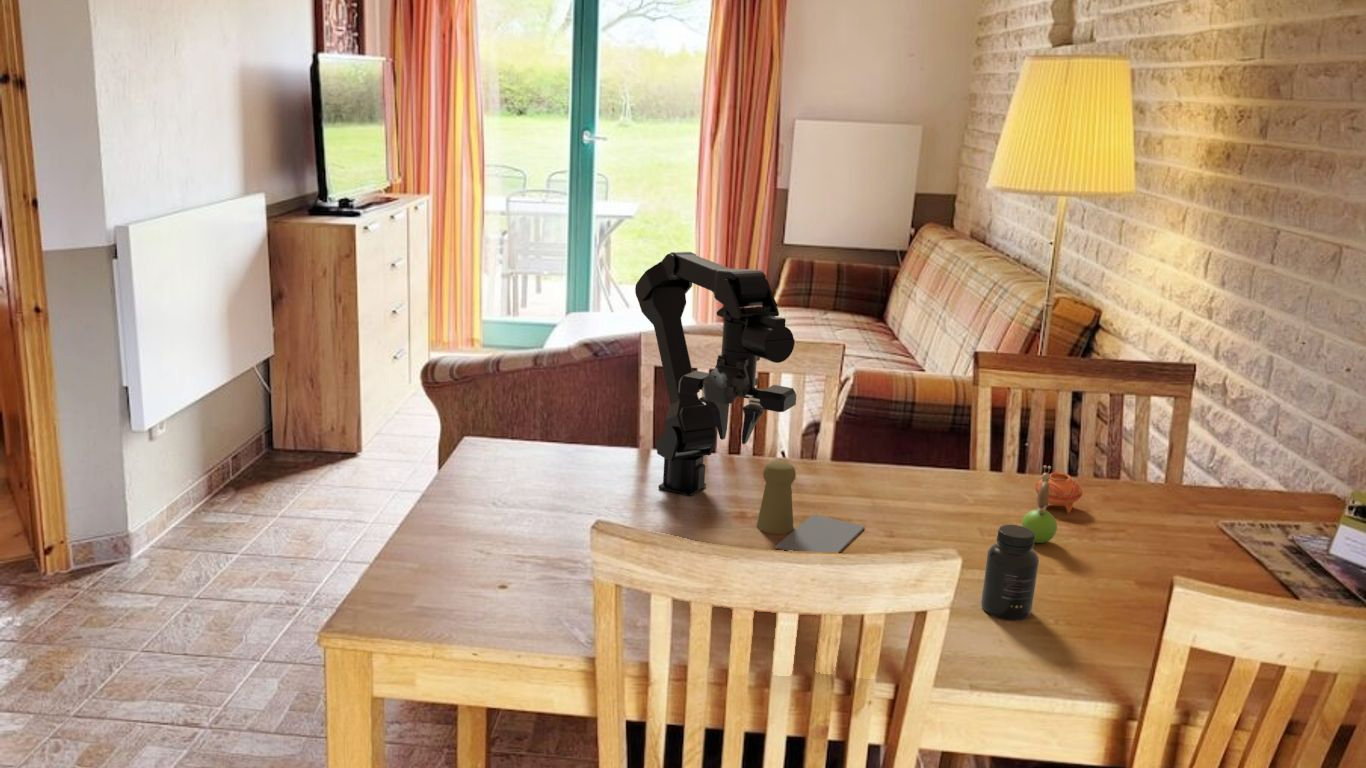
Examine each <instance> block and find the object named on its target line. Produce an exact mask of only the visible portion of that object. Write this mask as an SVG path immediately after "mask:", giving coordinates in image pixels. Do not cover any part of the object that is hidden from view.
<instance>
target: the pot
mask: <svg viewBox="0 0 1366 768" xmlns="http://www.w3.org/2000/svg"><path fill="white" fill-rule="evenodd" d="M1049 475H1050V479H1049V499H1048V504H1050V505H1052V506H1058V507H1059V506H1060V507H1065V510H1066V514H1070V513H1071V511H1072V508H1073V505H1074V503H1076V502H1077V501H1078V500H1079V499H1080V498H1082V496H1083V490H1082V488H1081V486H1080V484H1079V483H1078V482H1076V481H1077V480H1074V479H1073V478H1072V476H1071V475H1070V474H1067V473H1065V472H1058V471H1057V472H1051V473H1049ZM1041 483H1042V478H1041V479H1040V480H1039V481H1038V482H1037V483H1036V484H1035V487H1034V489H1035V491H1036V493H1037V494H1038V491H1039V487H1040V486H1041Z"/></svg>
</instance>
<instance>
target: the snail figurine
mask: <svg viewBox="0 0 1366 768" xmlns="http://www.w3.org/2000/svg"><path fill="white" fill-rule="evenodd" d="M1047 469H1048V470H1051V469H1052V466H1051V465H1048V466H1047V465H1043V470H1044V472H1043V473H1042V475H1041V479H1042V483H1041V486H1040V487H1039V491H1038V493H1037V499H1036V500H1037V501H1036V502H1037V508H1035V509H1032V510H1030V511H1029V512H1027V513H1026V514H1025V515H1024V516H1023V518H1022V521H1021V526H1023V527H1026V528H1028V529H1030V530H1032V531H1033V532H1034V534H1035V537H1034V543H1037V544H1042V543H1043V544H1044V543H1047V542H1050V540H1052V539H1053V538H1054V537H1055V536H1056V533H1057V532H1058V531H1057V530H1058V523H1057V521H1056V518H1055V516H1054V515H1052V513H1051V512H1049V511H1048V510H1047V507H1048V506H1049V503H1048V499H1049V479H1050V471H1048V472H1046V470H1047Z"/></svg>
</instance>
